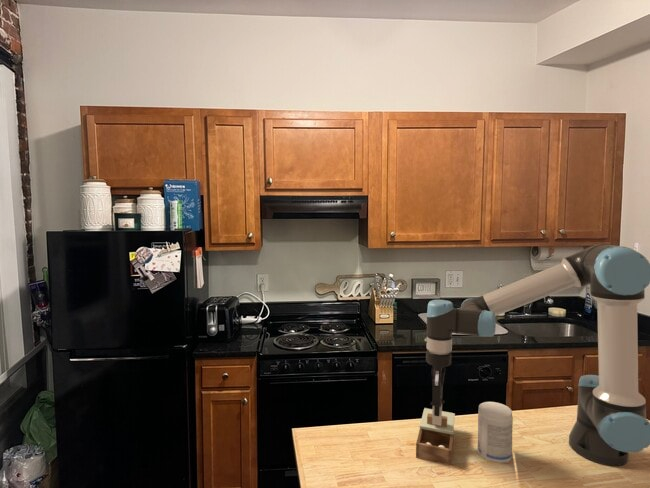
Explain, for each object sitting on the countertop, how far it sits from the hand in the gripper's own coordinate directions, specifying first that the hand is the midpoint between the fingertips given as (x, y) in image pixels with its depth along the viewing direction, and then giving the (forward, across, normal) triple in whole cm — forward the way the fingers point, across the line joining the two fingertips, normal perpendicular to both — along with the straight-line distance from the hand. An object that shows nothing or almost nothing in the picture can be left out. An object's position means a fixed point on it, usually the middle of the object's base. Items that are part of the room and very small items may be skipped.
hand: (436, 423), depth 123 cm
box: (+7, +3, 0) cm, 8 cm away
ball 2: (+7, +5, +2) cm, 8 cm away
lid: (+2, -5, 0) cm, 5 cm away
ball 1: (+7, +5, -2) cm, 8 cm away
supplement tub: (+8, -2, +17) cm, 19 cm away
